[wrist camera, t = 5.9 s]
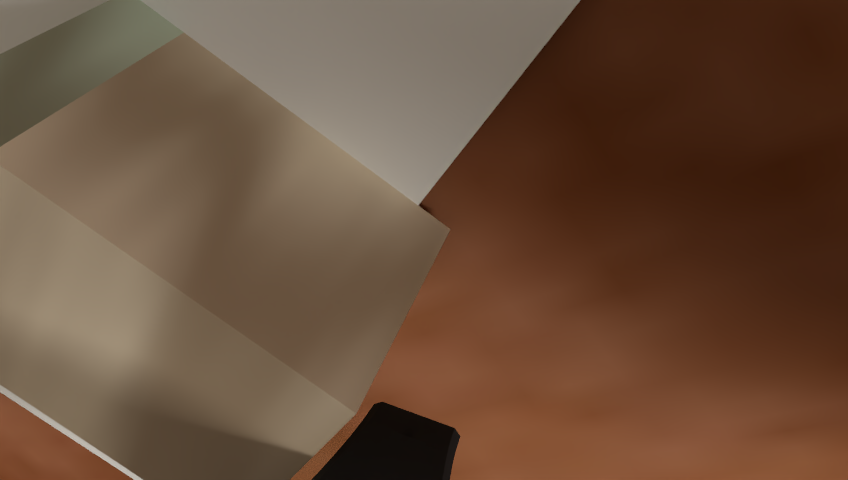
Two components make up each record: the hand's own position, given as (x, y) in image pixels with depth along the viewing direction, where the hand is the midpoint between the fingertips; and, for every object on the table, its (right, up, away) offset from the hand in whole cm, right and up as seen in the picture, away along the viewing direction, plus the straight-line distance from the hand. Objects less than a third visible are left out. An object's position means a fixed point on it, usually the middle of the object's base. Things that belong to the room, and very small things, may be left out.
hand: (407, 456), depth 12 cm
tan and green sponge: (-1, +1, 0) cm, 2 cm away
